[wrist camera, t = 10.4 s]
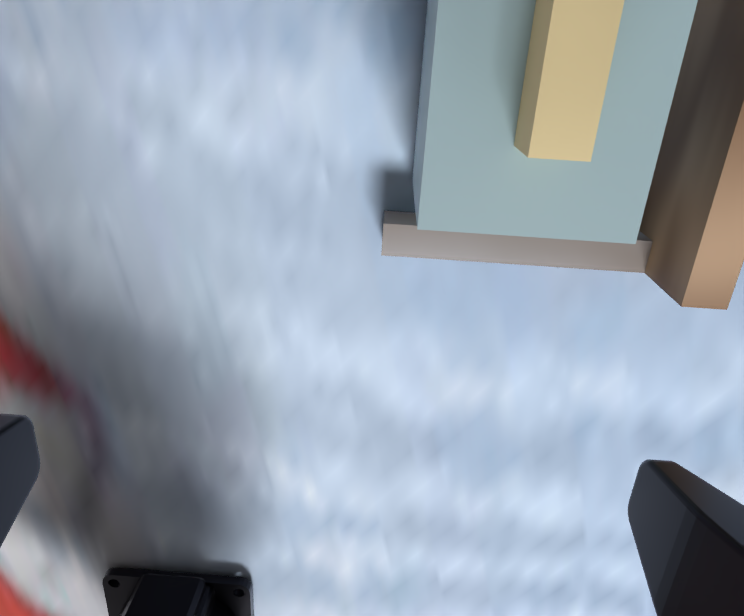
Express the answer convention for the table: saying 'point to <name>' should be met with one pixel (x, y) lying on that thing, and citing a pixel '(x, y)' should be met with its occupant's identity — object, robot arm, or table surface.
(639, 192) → the cabinet
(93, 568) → the table surface
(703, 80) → the cleat board
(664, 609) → the robot arm
